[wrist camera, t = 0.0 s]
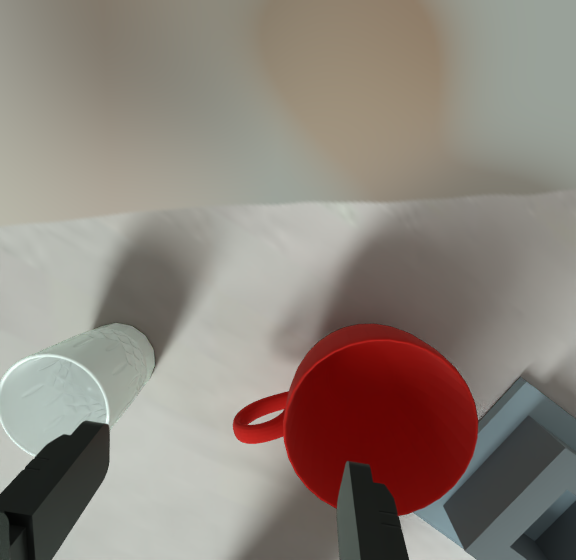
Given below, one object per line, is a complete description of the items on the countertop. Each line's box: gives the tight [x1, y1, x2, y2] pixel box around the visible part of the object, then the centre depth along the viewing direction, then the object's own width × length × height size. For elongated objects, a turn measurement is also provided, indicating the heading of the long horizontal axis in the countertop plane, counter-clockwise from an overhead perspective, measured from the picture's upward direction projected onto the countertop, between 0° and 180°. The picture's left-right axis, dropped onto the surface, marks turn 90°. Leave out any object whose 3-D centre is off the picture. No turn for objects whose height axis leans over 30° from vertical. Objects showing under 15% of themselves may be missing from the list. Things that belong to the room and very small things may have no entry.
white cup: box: [0, 323, 155, 456], centre depth 32 cm, size 8×8×10 cm
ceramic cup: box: [233, 324, 478, 516], centre depth 31 cm, size 13×17×10 cm
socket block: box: [413, 377, 576, 560], centre depth 34 cm, size 16×16×6 cm
